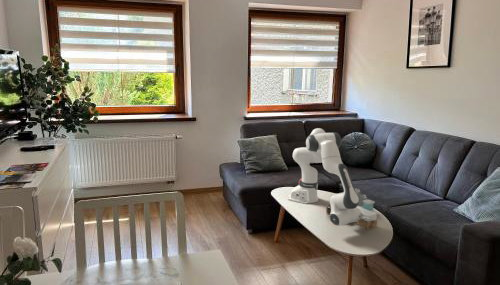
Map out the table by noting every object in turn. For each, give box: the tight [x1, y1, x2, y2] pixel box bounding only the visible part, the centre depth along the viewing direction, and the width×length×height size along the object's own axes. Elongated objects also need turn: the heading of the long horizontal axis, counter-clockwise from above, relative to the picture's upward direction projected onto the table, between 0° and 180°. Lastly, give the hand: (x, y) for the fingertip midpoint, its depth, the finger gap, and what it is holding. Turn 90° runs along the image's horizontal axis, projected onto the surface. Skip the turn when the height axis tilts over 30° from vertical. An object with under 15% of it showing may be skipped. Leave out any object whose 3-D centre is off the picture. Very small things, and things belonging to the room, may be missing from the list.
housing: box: [362, 198, 376, 222], centre depth 224 cm, size 5×5×12 cm
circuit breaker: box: [355, 188, 368, 207], centre depth 247 cm, size 8×14×15 cm, turn 78°
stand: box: [356, 218, 378, 230], centre depth 226 cm, size 8×8×4 cm
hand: (368, 209), depth 224 cm, fingers open, 4 cm apart
